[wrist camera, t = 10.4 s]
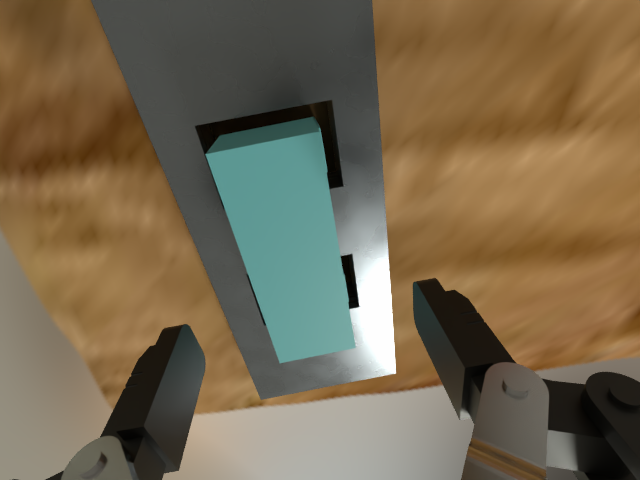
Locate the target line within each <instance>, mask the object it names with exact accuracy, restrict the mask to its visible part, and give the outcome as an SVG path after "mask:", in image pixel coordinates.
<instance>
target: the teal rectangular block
mask: <svg viewBox="0 0 640 480" xmlns="http://www.w3.org/2000/svg"><path fill="white" fill-rule="evenodd" d="M205 155H206V157H207V160H208V163H209V166H210V169H211V171H212V174H213V177H214V180H215V183H216V186H217V188H218V191H219V194H220V197H221V200H222V202H223V205H224V208H225V211H226V214H227V216H228V219H229V222H230V225H231V228H232V230H233V233H234V236H235V239H236V242H237V245H238V247H239V250H240V253H241V256H242V259H243V261H244V264H245V267H246V270H247V273H248V275H249V278H250V281H251V284H252V287H253V289H254V292H255V295H256V298H257V301H258V304H259V306H260V309H261V312H262V315H263V318H264V320H265V323H266V326H267V329H268V332H269V334H270V337H271V340H272V343H273V346H274V348H275V351H276V354H277V357H278V360H279V363H284V362H289V361H294V360H299V359H304V358H309V357H314V356H319V355H324V354H329V353H333V352H338V351H343V350H348V349H353V348H356V346H355V340H354V334H353V328H352V322H351V316H350V310H349V304H348V302H349V299H348V293H347V287H346V281H345V275H344V271H343V268H342V262H341V256H340V250H339V244H338V238H337V232H336V226H335V220H334V214H333V208H332V202H331V196H330V190H329V184H328V178H327V172H328V171H327V165H326V159H325V153H324V147H323V141H322V135H321V129H320V126H319V124H318V122H317V121H316V119H315V117H309V118H304V119H299V120H294V121H289V122H284V123H279V124H274V125H269V126H264V127H259V128H254V129H249V130H244V131H239V132H234V133H229V134H225V135H220V136H219V137H218V139H217V140H216V141H215V143H214V144H213V145H212V146H211V148H210V149H209V150H208V152H207V153H206V154H205Z"/></svg>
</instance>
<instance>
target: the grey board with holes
mask: <svg viewBox="0 0 640 480" xmlns="http://www.w3.org/2000/svg"><path fill="white" fill-rule="evenodd" d="M91 1H92V3H93V5H94V8H95V10H96V12H97V15H98V17H99V20H100V22H101V24H102V27H103V29H104V31H105V34H106V36H107V38H108V41H109V43H110V45H111V48H112V50H113V53H114V55H115V57H116V60H117V62H118V64H119V67H120V69H121V71H122V74H123V76H124V78H125V81H126V83H127V85H128V88H129V90H130V93H131V95H132V97H133V100H134V102H135V104H136V107H137V109H138V111H139V114H140V116H141V118H142V121H143V123H144V125H145V128H146V130H147V133H148V135H149V137H150V140H151V142H152V144H153V147H154V149H155V151H156V154H157V156H158V158H159V161H160V163H161V165H162V168H163V170H164V173H165V175H166V177H167V180H168V182H169V184H170V187H171V189H172V191H173V194H174V196H175V198H176V201H177V203H178V206H179V208H180V210H181V213H182V215H183V217H184V220H185V222H186V224H187V227H188V229H189V231H190V234H191V236H192V238H193V241H194V243H195V246H196V248H197V250H198V253H199V255H200V257H201V260H202V262H203V264H204V267H205V269H206V271H207V274H208V276H209V278H210V281H211V283H212V286H213V288H214V290H215V293H216V295H217V297H218V300H219V302H220V304H221V307H222V309H223V311H224V314H225V316H226V319H227V321H228V323H229V326H230V328H231V330H232V333H233V335H234V337H235V340H236V342H237V344H238V347H239V349H240V351H241V354H242V356H243V359H244V361H245V363H246V366H247V368H248V370H249V373H250V375H251V377H252V380H253V382H254V384H255V387H256V389H257V391H258V394H259V396H260V399H261V400H262V399H267V398H272V397H277V396H282V395H287V394H293V393H298V392H303V391H308V390H313V389H318V388H323V387H328V386H333V385H338V384H343V383H349V382H354V381H359V380H364V379H369V378H374V377H379V376H384V375H389V374H394V373H396V367H395V351H394V336H393V320H392V305H391V289H390V274H389V258H388V242H387V227H386V211H385V196H384V180H383V165H382V149H381V134H380V118H379V103H378V87H377V71H376V56H375V40H374V25H373V9H372V0H91ZM323 101H326V102H327V109H328V116H329V123H330V130H331V138H332V145H333V152H334V159H335V166H336V171H333V172H327V178H328V184H329V190H330V196H331V202H332V208H333V214H334V220H335V226H336V232H337V238H338V244H339V250H340V256H343V255H348V258H349V265H350V272H351V279H352V283H347V284H346V287H347V293H348V299H349V302H348V304H349V310H350V316H351V322H352V328H353V334H354V340H355V346H356V348H353V349H348V350H343V351H338V352H333V353H329V354H324V355H319V356H314V357H309V358H304V359H299V360H294V361H289V362H284V363H279V360H278V357H277V354H276V351H275V348H274V346H273V343H272V340H271V337H270V334H269V332H268V329H267V326H266V323H265V320H264V318H263V315H262V312H261V309H260V306H259V304H258V301H257V298H256V295H255V292H254V289H253V287H252V284H251V281H250V278H249V275H248V273H247V270H246V267H245V264H244V261H243V259H242V256H241V253H240V250H239V247H238V245H237V242H236V239H235V236H234V233H233V230H232V228H231V225H230V222H229V219H228V216H227V214H226V211H225V208H224V205H223V202H222V200H221V197H220V194H219V191H218V188H217V186H216V183H215V180H214V177H213V174H212V171H211V169H210V166H209V163H208V160H207V157H206V155H205V154H206V153H207V152H208V150H209V149H210V148H211V146H212V145H213V144H214V143H215V141H214V138H213V135H212V132H211V129H210V126H209V123H212V122H218V121H223V120H228V119H233V118H239V117H244V116H249V115H254V114H260V113H265V112H270V111H275V110H281V109H286V108H291V107H296V106H302V105H307V104H312V103H317V102H323Z"/></svg>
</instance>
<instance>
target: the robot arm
mask: <svg viewBox="0 0 640 480" xmlns="http://www.w3.org/2000/svg"><path fill="white" fill-rule="evenodd" d="M413 311H414V320H415V324H416V328H417V330H418V333H419V335H420V337H421V339H422V341H423V343H424V345H425V348H426V350H427V352H428V354H429V356H430V358H431V360H432V362H433V364H434V367H435V369H436V371H437V373H438V375H439V377H440V379H441V381H442V383H443V386H444V388H445V390H446V392H447V394H448V396H449V398H450V400H451V403H452V405H453V406H454V409H455V411H456V413H457V415H458V417H459V419H460V420H463V419H468V418H471V419H472V421H473V423H474V429H473V434H472V438H471V442H470V444H469V447H468V451H467V455H466V460H465V465H464V469H463V473H462V478H461V480H548V479H547V478H546V466H552V467H557V468H563V469H569V470H572V471H573V473H574V474H575V476H576V477H577V479H578V480H640V382H638V381H636V380H634V379H632V378H630V377H627V376H625V375H622V374H617V373H612V372H599V373H595V374H593V375H591V376H590V377H589V378H588V380H587V381H586V384H576V383H566V382H558V381H550V380H546V379H542V378H540V377H539V376H538V375H537V374H536V373H535V372H533V371H532V370H530V369H529V368H527V367H525V366H522V365H519V364H517V363H516V362H515V361H514V360H513V359H512V357H511V356H510V355H509V353H508V352H507V351H506V349H505V348H504V347H503V345H502V344H501V343H500V341H499V340H498V339H497V337H496V336H495V335H494V333H493V332H492V330H491V329H490V328H489V326H488V325H487V324H486V322H484V320H483V318H482V317H481V316H480V314H479V313H477V311H476V309H475V308H474V306H473V305H472V304H471V302H470V301H469V299H468V298H466V297H465V296H463V295H462V294H460V293H459V292H457V291H456V290H451V291H445V290H444V289H443V287H442V286H441V284H440V283H439V281H438V280H437V279H436V278H432V279H427V280H422V281H417V282H414V283H413ZM204 372H205V356H204V353H203V351H202V349H201V347H200V345H199V343H198V341H197V339H196V337H195V335H194V334H193V332H192V330H191V328H190V326H189V325H187V324H184V325H179V326H174V327H168V328H164V329H163V330H162V332H161V334H160V336H159V338H158V340H157V342H156V345H154V346H150V347H149V348H148V349H147V350H146V351H145V353H144V354H143V355H142V356H141V357H140V358H139V359H138V361H137V363H136V365H135V367H134V369H133V371H132V373H131V377H129V379H128V381H127V384H126V388H125V389H124V390H123V392H122V394H121V396H120V398H119V400H118V402H117V404H116V406H115V408H114V410H113V412H112V414H111V416H110V418H109V420H108V422H107V424H106V427H105V428H104V431H103V433H102V434H101V436H100V438H98V439H96V440H94V441H92V442H90V443H89V444H87V445H86V446H85V447H83V448H82V449H81V450H80V451H79V452H78V453H77V454H76V455H75V456H74V457H73V458H72V459H71V461H70V462H69V464H68V465H67V467H66V468H65V470H64V471H62V472H60V473H58V474H56V475H54V476H52V477H50V478H48V479H46V480H162V478H163V474H164V473H169V472H174V471H179V468H180V464H181V460H182V456H183V452H184V448H185V444H186V441H187V437H188V433H189V429H190V426H191V422H192V418H193V414H194V410H195V406H196V403H197V399H198V395H199V391H200V387H201V384H202V380H203V376H204ZM14 480H16V479H14Z"/></svg>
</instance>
